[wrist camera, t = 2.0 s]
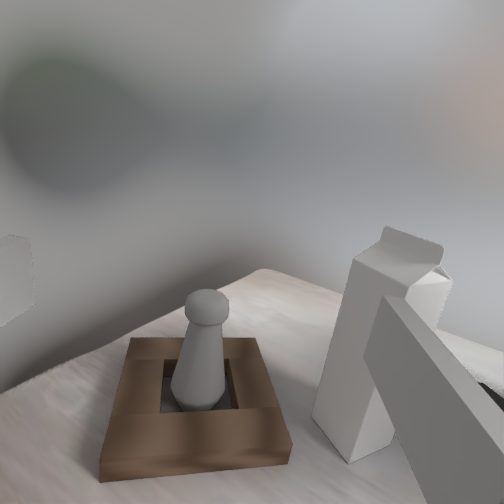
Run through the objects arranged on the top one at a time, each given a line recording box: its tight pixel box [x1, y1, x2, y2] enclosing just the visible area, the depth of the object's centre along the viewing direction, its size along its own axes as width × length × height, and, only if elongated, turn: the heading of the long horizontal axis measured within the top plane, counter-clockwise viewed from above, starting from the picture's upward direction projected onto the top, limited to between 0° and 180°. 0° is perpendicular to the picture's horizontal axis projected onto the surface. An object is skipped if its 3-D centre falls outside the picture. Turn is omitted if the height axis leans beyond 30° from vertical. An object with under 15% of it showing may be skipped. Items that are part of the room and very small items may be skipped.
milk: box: [311, 226, 453, 464], centre depth 30 cm, size 6×6×22 cm
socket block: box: [100, 338, 292, 483], centre depth 34 cm, size 16×16×2 cm
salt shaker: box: [170, 289, 229, 412], centre depth 32 cm, size 6×6×13 cm
